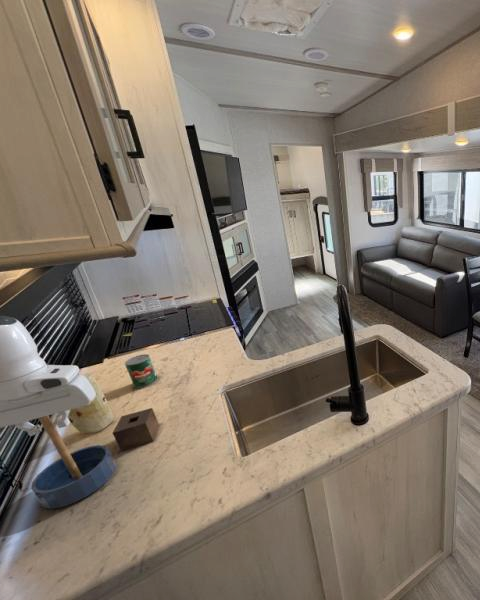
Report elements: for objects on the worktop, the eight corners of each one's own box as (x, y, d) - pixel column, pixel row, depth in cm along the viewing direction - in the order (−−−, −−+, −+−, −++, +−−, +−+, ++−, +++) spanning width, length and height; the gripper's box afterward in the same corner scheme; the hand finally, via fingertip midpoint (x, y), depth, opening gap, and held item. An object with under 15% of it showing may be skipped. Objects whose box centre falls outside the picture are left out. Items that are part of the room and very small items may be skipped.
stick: (75, 485, 81) (36, 419, 73) (78, 481, 82) (40, 415, 75) (83, 483, 82) (45, 416, 74) (86, 478, 83) (49, 413, 75)
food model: (116, 416, 108) (93, 367, 101) (116, 425, 103) (91, 375, 96) (77, 430, 102) (50, 379, 95) (75, 441, 97) (46, 389, 90)
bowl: (29, 520, 73) (16, 503, 71) (59, 474, 86) (50, 458, 83) (105, 493, 79) (96, 476, 77) (124, 453, 91) (116, 438, 89)
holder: (121, 451, 92) (112, 432, 90) (129, 433, 99) (121, 416, 97) (153, 441, 95) (145, 423, 93) (159, 424, 102) (152, 407, 100)
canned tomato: (142, 389, 122) (132, 365, 118) (129, 386, 125) (119, 363, 121) (162, 378, 129) (153, 355, 125) (149, 375, 132) (140, 353, 128)
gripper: (-54, 405, 64) (-19, 455, 69) (74, 376, 72) (97, 422, 77) (-31, 389, 70) (0, 436, 74) (86, 363, 78) (107, 408, 83)
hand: (50, 429), depth 76 cm, fingers open, 4 cm apart
